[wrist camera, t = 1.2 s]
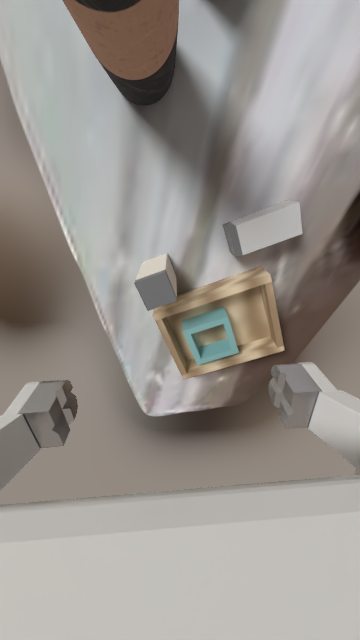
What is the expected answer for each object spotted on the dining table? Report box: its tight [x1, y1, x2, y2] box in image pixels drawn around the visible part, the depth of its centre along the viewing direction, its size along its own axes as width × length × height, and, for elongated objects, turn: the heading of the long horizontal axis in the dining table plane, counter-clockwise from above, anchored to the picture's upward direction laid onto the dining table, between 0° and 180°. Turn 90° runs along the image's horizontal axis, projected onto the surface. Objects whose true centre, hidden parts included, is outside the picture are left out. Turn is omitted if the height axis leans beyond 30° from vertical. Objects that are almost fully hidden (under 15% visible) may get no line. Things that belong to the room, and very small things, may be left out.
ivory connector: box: [135, 253, 177, 311], centre depth 33 cm, size 4×4×9 cm
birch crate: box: [153, 266, 284, 379], centre depth 40 cm, size 18×14×4 cm
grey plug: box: [223, 200, 303, 258], centre depth 33 cm, size 9×4×4 cm, turn 110°
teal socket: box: [182, 307, 239, 365], centre depth 41 cm, size 7×7×4 cm
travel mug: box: [63, 0, 179, 105], centre depth 17 cm, size 8×8×20 cm
